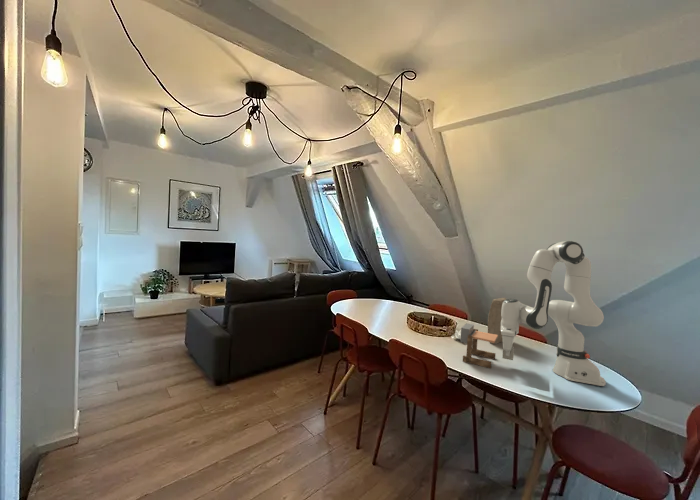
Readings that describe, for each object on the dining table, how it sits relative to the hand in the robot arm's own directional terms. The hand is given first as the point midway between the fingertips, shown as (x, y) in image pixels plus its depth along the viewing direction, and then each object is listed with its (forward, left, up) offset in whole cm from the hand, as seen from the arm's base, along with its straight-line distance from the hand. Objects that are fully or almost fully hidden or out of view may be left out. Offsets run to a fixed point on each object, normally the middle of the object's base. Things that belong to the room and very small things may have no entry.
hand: (508, 353), depth 169 cm
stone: (0, 0, -2) cm, 2 cm away
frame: (+19, 0, -7) cm, 20 cm away
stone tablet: (+12, -44, -7) cm, 46 cm away
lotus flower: (+30, -28, -8) cm, 42 cm away
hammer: (+19, 0, +7) cm, 20 cm away
